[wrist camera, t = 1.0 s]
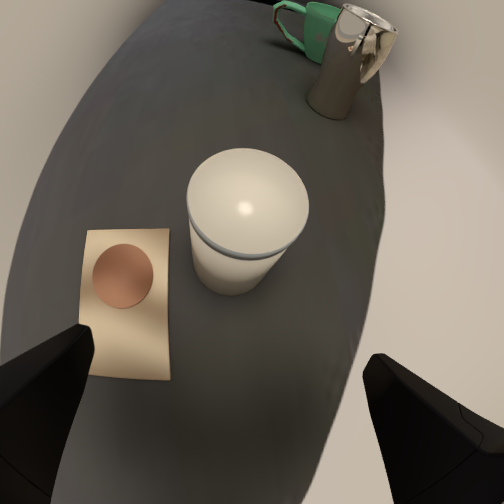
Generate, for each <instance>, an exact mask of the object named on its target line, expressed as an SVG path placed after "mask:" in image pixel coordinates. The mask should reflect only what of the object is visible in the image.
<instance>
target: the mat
mask: <svg viewBox="0 0 504 504" xmlns="http://www.w3.org/2000/svg"><path fill="white" fill-rule="evenodd" d="M169 242H170V229H119V230H88V232H87V238H86V245H85V252H84V260H83V269H82V279H81V291H80V309H79V324H83V325H87V326H89V327H90V328H91V330H92V335H93V340H94V345H95V353H94V357H93V360H92V363H91V367H90V370H89V375H97V376H106V377H117V378H130V379H146V380H171V371H170V353H169V323H168V272H169Z"/></svg>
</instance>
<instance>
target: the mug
mask: <svg viewBox="0 0 504 504" xmlns="http://www.w3.org/2000/svg"><path fill="white" fill-rule="evenodd" d="M282 8H287V9H292V10H294V11H296V12H298V13H300V14H302V15H304V16H305V26H304V44H303V43H301V42H300V41H299V40H297V39H296V38H294V37H293V36H291V35H290V34H288V32H287V31H286V29H285V28H284V26H283V25H282V23H281V22H280V20H279V19H278V15H279V12H280V10H281V9H282ZM340 11H341V9H338V8H336V7H333V6H330V5H326V4H322V3H316V2H310V3H308V4H307V6H306V8H305V7H302V6H300V5H298V4H295V3H293V2H289V1H282V2H279V3H277V4H275V5H274V7H273V24H274V25H275V26H276V27H277V29H278V30H279V31H280V33H281V34H282V35H283V37H284V38H285V40H287V41H288V42H290V43H291V44H293V45H294V46H296V47H297V48H299V49H300V50H302V51H303V52H305V54H306V56H307V57H308V58H309V59H310V60H312V61H314V62H316V63H319V64H322V58H323V53H324V48H325V44H326V40H327V37H328V35H329V32H330V30H331V28H332V25H333V23H334V21H335V19H336V18H337V16H338V14H339V12H340Z"/></svg>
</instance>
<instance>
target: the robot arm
mask: <svg viewBox="0 0 504 504" xmlns="http://www.w3.org/2000/svg"><path fill="white" fill-rule="evenodd" d="M94 353H95V345H94V340H93V335H92V330H91V328H90V327H89V326H87V325H83V324H76V325H74V326H72V327H71V328H69V329H67V330H65V331H63V332H61V333H59V334H57V335H56V336H54V337H52V338H50V339H48V340H46V341H45V342H43V343H41V344H39V345H37V346H35V347H34V348H32V349H30V350H28V351H26V352H24V353H23V354H21V355H19V356H17V357H15V358H14V359H12V360H10V361H8V362H6V363H5V364H3V365H1V366H0V504H50V502H51V497H52V492H53V488H54V484H55V480H56V476H57V472H58V468H59V464H60V461H61V457H62V454H63V450H64V447H65V444H66V441H67V438H68V435H69V432H70V429H71V426H72V423H73V420H74V417H75V414H76V411H77V409H78V406H79V403H80V401H81V398H82V395H83V392H84V389H85V385H86V381H87V377H88V374H89V370H90V367H91V363H92V360H93V357H94ZM363 382H364V386H365V391H366V396H367V401H368V407H369V411H370V415H371V419H372V422H373V425H374V429H375V432H376V436H377V439H378V443H379V446H380V450H381V454H382V457H383V461H384V464H385V469H386V473H387V476H388V481H389V485H390V489H391V493H392V498H393V501H394V504H504V428H502V427H500V426H498V425H496V424H494V423H492V422H490V421H489V420H487V419H484V418H483V417H481V416H479V415H478V414H476V413H474V412H472V411H471V410H469V409H467V408H466V407H464V406H463V405H461V404H460V403H458V402H457V401H455V400H454V399H452V398H450V397H449V396H448V395H446V394H445V393H443V392H441V391H440V390H438V389H437V388H435V387H434V386H432V385H431V384H429V383H428V382H426V381H425V380H423V379H422V378H420V377H419V376H417V375H416V374H414V373H413V372H411V371H410V370H408V369H407V368H405V367H404V366H402V365H401V364H399V363H397V362H396V361H395V360H393V359H392V358H390V357H389V356H387V355H386V354H383V353H380V354H373V355H372V356H371V358H370V360H369V361H368V363H367V365H366V367H365V369H364V371H363Z"/></svg>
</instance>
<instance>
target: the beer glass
mask: <svg viewBox="0 0 504 504" xmlns="http://www.w3.org/2000/svg"><path fill="white" fill-rule="evenodd" d="M398 33H399V31H398V30H397V28H395V27H394V26H393V25H392V24H391V23H389V22H388V21H386V20H385V19H383V18H382V17H380V16H378V15H376V14H374V13H372V12H370V11H368V10H366V9H363V8H361V7H358V6H355V5H351V4H344V5H343V7H342V9H341V11H340V12H339V14H338V16H337V18H336V19H335V21H334V23H333V25H332V28H331V30H330V32H329V35H328V37H327V40H326V44H325V48H324V53H323V58H322V64H321V69H320V73H319V76H318V78H317V80H316V82H315V84H314V85H313V87H312V88H311V89H310V91H309V92H308V94H307V97H306V99H307V102H308V104H309V105H310V107H311V108H312V109H313V110H314V111H316V112H317V113H319V114H320V115H322V116H325V117H327V118H330V119H335V120H340V119H344V118H346V117H347V115H348V113H349V111H350V107H351V104H352V102H353V99H354V97H355V96H356V94H357V93H358V91H359V90H360V89H361V88H362V87H363V86H364V85H365V84H366V83H367V81H368V80H369V79H370V78H371V77H372V76H373V75H374V74H375V73H376V71H377V70H378V69H379V68H380V66H381V65H382V63H383V62H384V60H385V59H386V57H387V55H388V53H389V51H390V49H391V47H392V45H393V43H394V41H395V38H396V36H397V34H398Z"/></svg>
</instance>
